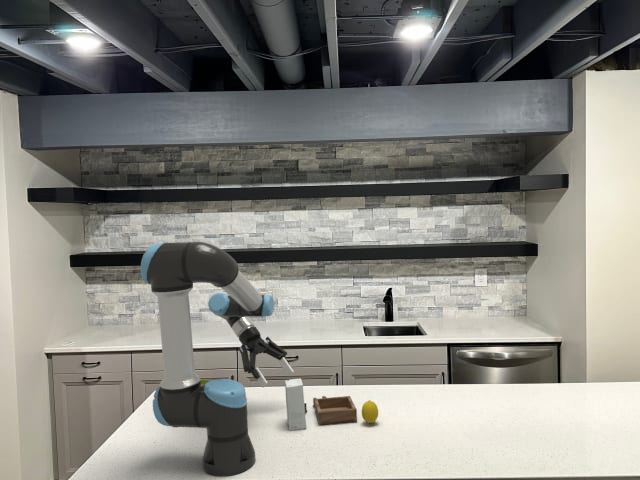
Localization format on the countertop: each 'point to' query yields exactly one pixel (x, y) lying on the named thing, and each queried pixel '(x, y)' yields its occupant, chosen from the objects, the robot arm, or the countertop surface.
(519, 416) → the countertop surface
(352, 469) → the countertop surface
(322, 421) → the open wooden tray
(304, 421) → the skincare box
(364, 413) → the lemon
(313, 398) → the clip
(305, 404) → the clip
